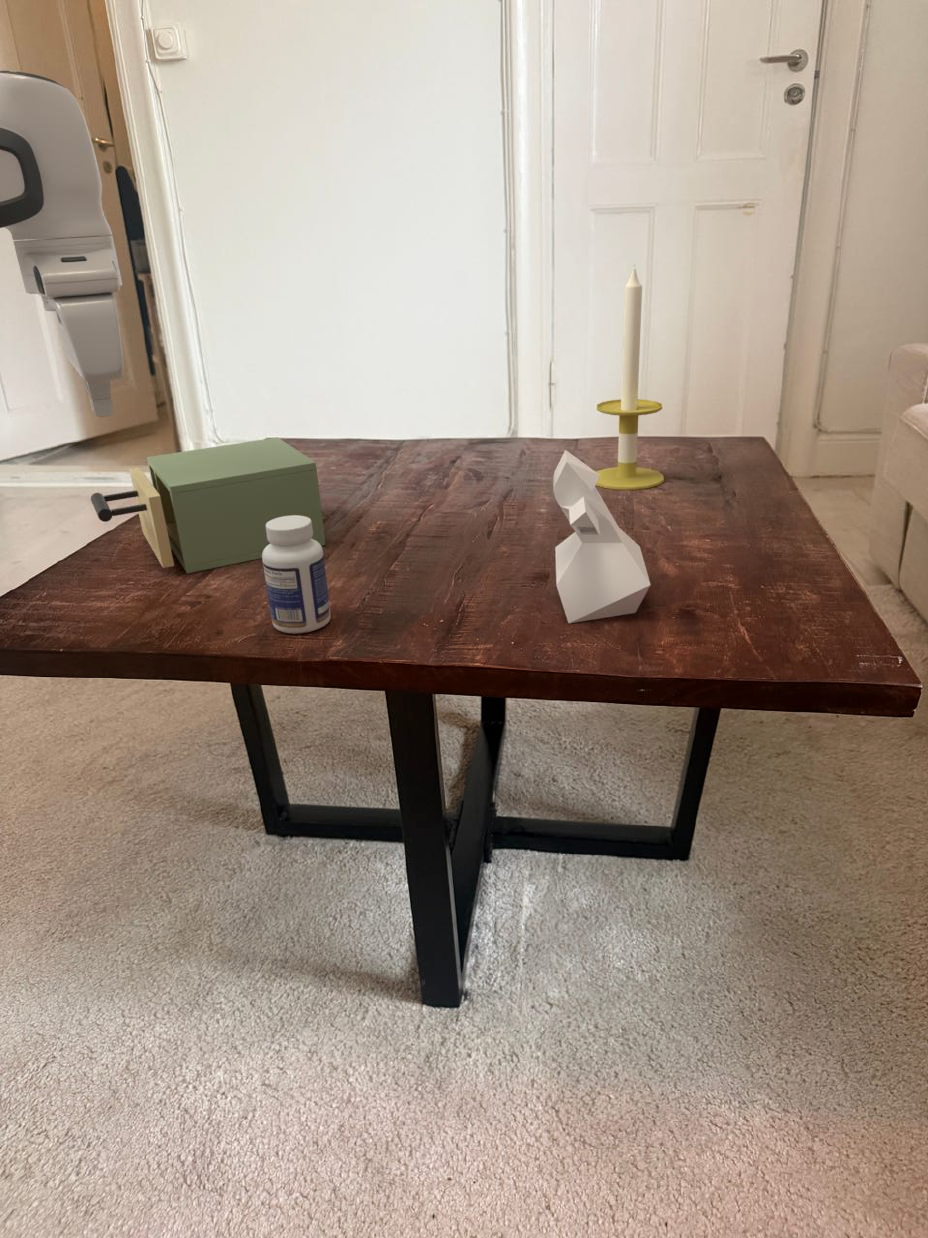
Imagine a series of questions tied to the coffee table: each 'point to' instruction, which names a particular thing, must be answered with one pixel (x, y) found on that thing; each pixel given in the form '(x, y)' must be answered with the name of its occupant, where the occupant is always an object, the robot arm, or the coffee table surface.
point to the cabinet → (235, 498)
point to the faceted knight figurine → (594, 551)
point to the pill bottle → (295, 576)
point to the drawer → (146, 513)
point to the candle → (629, 404)
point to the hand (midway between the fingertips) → (103, 414)
